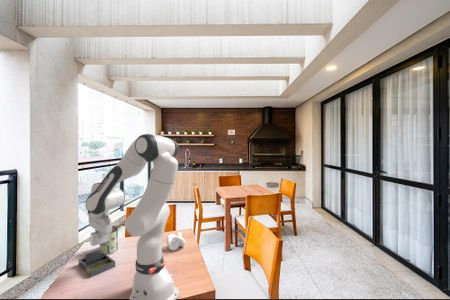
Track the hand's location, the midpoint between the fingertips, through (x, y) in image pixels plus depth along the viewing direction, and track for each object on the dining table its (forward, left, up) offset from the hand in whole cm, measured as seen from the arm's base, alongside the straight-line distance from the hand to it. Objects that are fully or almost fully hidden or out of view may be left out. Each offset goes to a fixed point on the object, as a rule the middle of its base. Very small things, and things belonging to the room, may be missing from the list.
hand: (100, 238), depth 111 cm
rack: (+6, -1, -17) cm, 18 cm away
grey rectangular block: (0, 0, -2) cm, 2 cm away
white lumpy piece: (-11, -42, -18) cm, 47 cm away
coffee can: (+18, -12, -18) cm, 28 cm away
